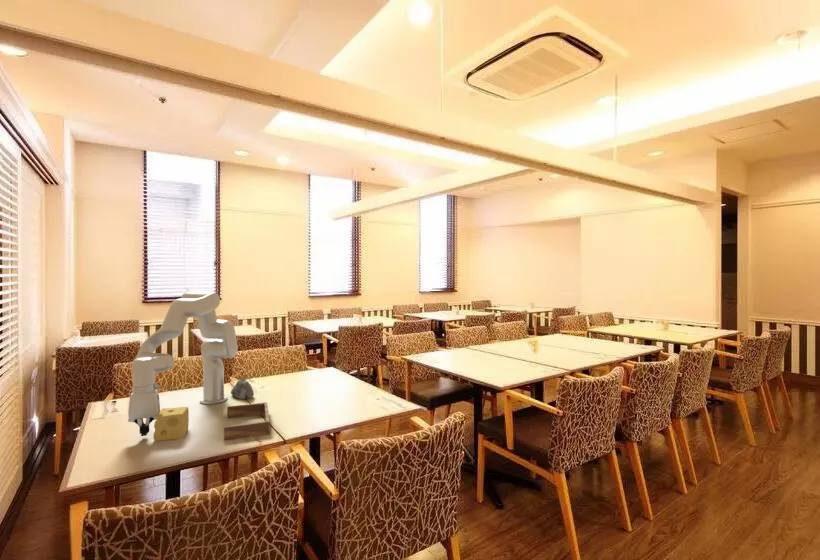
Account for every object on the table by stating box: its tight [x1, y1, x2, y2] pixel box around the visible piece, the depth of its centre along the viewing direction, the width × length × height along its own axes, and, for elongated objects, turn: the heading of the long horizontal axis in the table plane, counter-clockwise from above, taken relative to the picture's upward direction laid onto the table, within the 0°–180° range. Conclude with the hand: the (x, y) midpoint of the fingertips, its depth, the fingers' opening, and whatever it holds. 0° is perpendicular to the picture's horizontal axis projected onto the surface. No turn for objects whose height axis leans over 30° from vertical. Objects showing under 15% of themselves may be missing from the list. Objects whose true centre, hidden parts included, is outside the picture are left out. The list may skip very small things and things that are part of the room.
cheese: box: [153, 406, 190, 442], centre depth 164 cm, size 10×11×10 cm
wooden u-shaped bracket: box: [223, 401, 271, 441], centre depth 174 cm, size 26×17×5 cm, turn 22°
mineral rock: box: [230, 378, 255, 400], centre depth 214 cm, size 13×11×10 cm
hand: (144, 434), depth 160 cm, fingers closed
